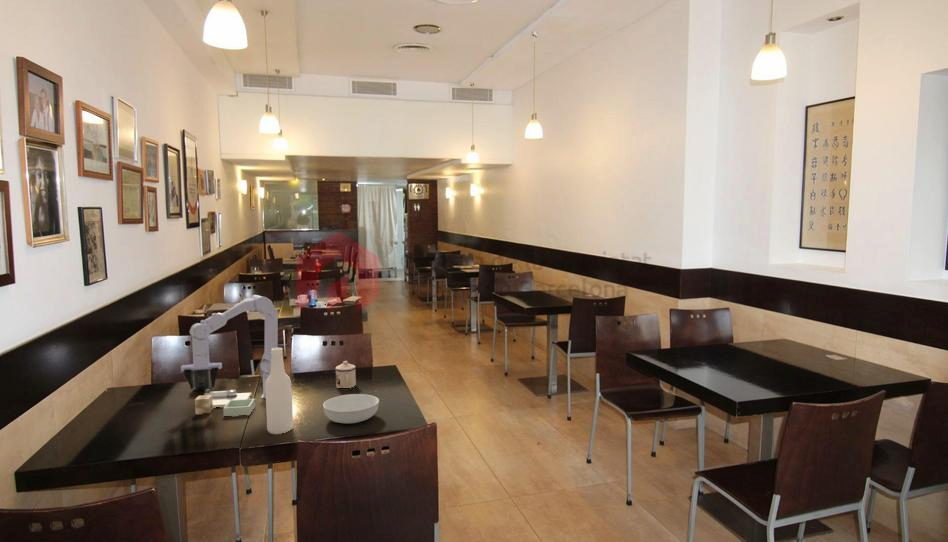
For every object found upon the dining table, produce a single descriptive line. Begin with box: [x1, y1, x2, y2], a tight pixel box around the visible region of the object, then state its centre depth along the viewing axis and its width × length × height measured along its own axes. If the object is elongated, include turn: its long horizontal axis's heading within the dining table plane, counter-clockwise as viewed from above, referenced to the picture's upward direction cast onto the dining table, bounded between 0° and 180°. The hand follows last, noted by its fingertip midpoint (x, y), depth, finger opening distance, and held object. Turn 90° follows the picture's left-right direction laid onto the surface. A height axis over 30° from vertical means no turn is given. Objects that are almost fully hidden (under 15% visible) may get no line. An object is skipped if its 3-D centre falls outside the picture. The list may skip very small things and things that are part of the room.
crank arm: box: [204, 388, 237, 398], centre depth 233 cm, size 12×4×3 cm, turn 100°
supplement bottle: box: [193, 369, 211, 392], centre depth 248 cm, size 7×7×12 cm
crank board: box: [212, 392, 252, 409], centre depth 231 cm, size 16×14×2 cm
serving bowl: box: [322, 393, 380, 425], centre depth 210 cm, size 21×21×7 cm
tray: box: [222, 398, 256, 417], centre depth 219 cm, size 10×10×4 cm
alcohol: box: [265, 347, 294, 435], centre depth 198 cm, size 9×9×30 cm
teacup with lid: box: [334, 360, 357, 389], centre depth 249 cm, size 12×9×12 cm
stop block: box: [194, 394, 214, 415], centre depth 219 cm, size 5×5×6 cm
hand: (202, 387), depth 220 cm, fingers open, 7 cm apart
